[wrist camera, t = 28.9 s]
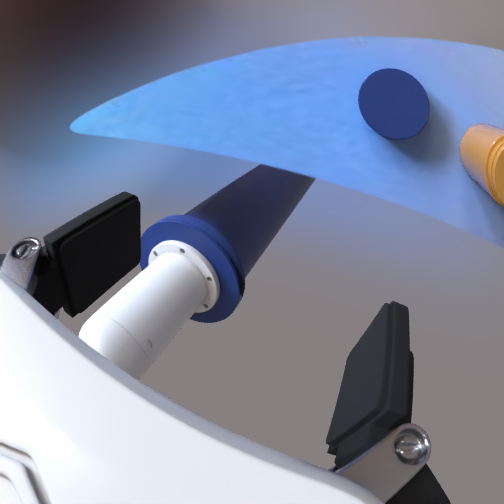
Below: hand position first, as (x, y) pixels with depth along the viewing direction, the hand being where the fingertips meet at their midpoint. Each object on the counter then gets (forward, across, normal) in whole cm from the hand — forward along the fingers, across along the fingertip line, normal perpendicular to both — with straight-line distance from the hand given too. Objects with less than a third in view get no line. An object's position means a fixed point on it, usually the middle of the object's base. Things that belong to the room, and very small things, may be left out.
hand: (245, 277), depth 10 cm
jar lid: (+21, -4, -7) cm, 23 cm away
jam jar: (+22, -15, -7) cm, 28 cm away
